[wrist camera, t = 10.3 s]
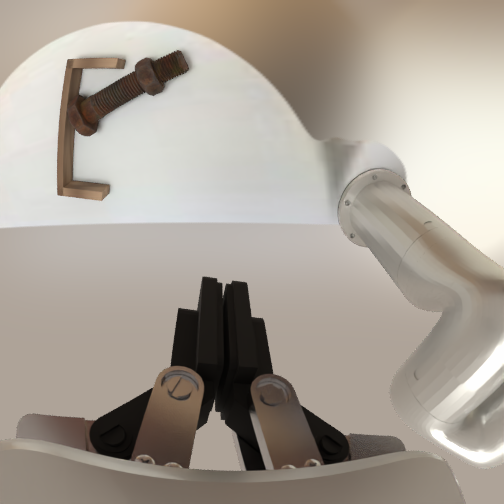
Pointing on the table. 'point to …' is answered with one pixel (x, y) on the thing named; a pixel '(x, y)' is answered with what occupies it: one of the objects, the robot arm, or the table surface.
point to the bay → (67, 131)
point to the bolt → (124, 91)
